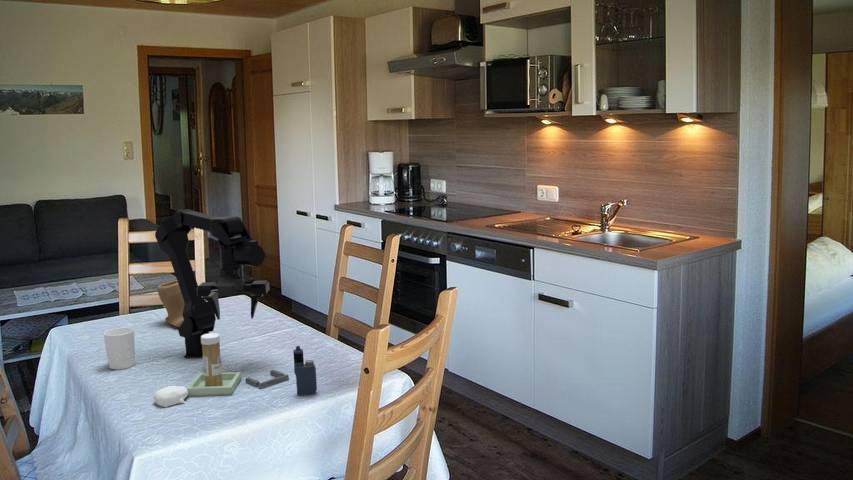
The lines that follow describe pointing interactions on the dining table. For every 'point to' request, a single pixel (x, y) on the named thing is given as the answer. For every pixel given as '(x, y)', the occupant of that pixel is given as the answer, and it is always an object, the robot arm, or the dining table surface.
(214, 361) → the sprinkles bottle
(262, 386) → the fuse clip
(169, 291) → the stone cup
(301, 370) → the vaping device
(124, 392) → the dining table surface
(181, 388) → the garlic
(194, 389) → the tray
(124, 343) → the white cup
